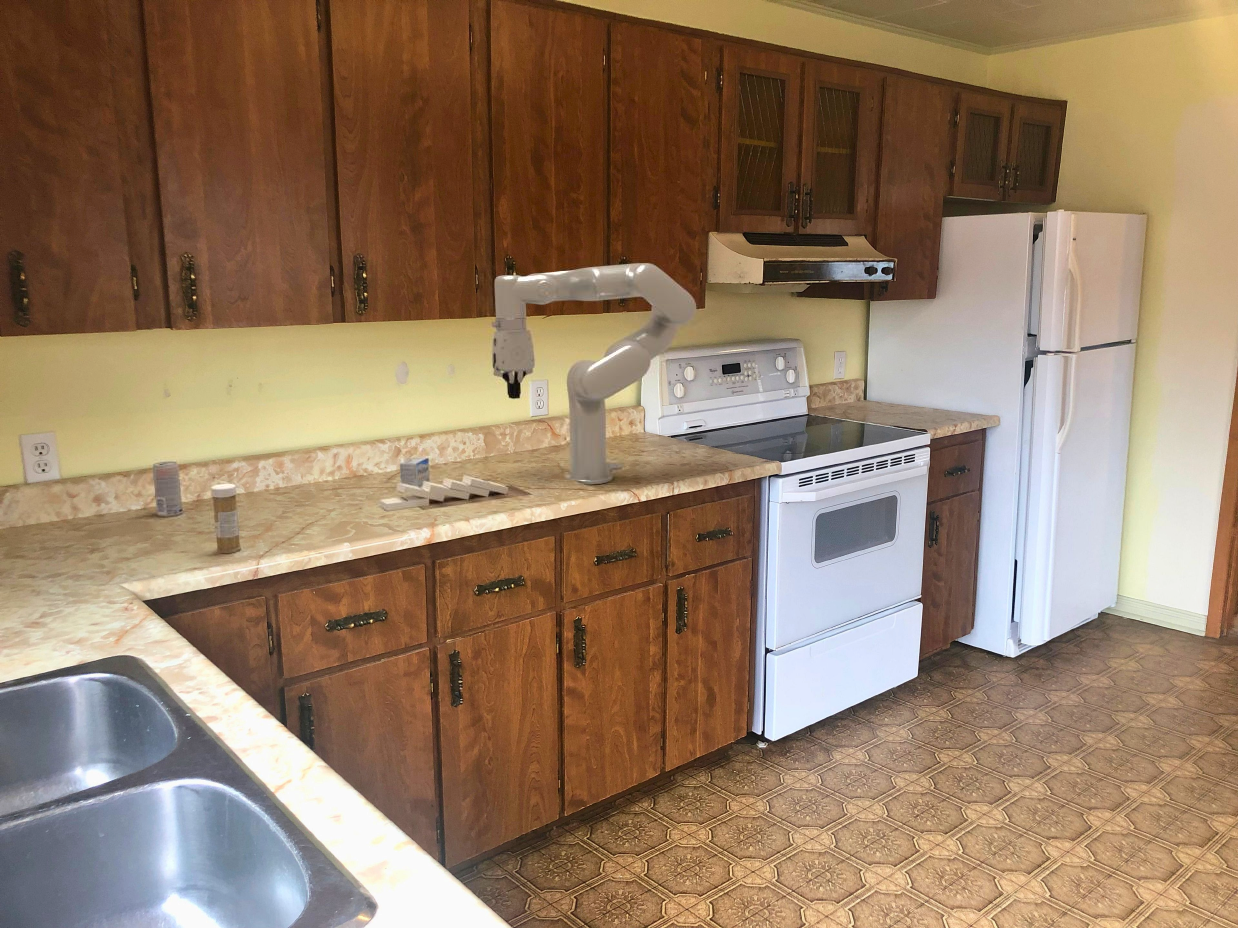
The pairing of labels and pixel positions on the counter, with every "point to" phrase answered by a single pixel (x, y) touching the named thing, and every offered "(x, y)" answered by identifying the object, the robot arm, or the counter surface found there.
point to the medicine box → (415, 471)
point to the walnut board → (474, 498)
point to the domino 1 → (403, 502)
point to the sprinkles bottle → (226, 518)
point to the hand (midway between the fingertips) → (514, 398)
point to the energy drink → (167, 489)
